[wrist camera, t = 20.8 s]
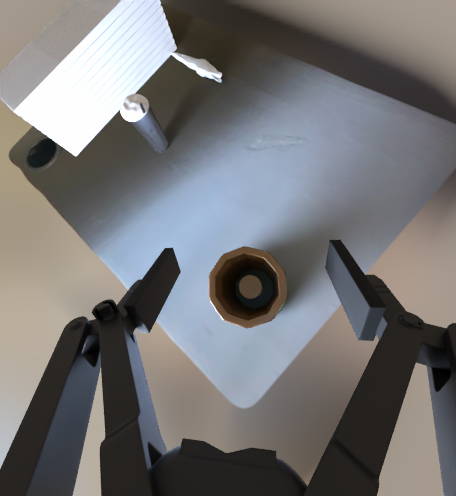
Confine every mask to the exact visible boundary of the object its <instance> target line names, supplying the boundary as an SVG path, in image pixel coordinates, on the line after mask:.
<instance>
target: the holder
mask: <svg viewBox="0 0 456 496" xmlns="http://www.w3.org/2000/svg"><path fill="white" fill-rule="evenodd" d="M286 289H287V283H286ZM236 296H237V297H238V299H239V300H240V301H241V303H242V304H243V305H245V306H248V307H251V308H254V309H256V308H259V307H262V306H264V305H267V303H268V302H269V300H270V299H271V297H272V296H273V283H272V281H271V279H270V278H269V277H268V276H267V275H266V273H265V272H262V271H258V270H254V269H252V270H249V271H247V272H244V273H242V274H241V276H240V277H239V279H238V280H237V282H236ZM286 298H287V297H286ZM284 304H285V302H284ZM284 304H283V305H282V307H281V308H280V310H281V309H282V308H283V306H284ZM280 310H279V312H280ZM279 312H278V313H279ZM278 313H277V314H278Z"/></svg>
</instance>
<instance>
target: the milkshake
mask: <svg viewBox="0 0 456 496" xmlns="http://www.w3.org/2000/svg"><path fill="white" fill-rule="evenodd" d="M121 115H122V117H123V118H124V119H125V120H126V121H127V122H128V123H129V124H130V125H131V126H132V127H133V128H134V129H135V130H136V131H137V132H138V133H139V134H140V135H141V137H142V138H143V139H144V140H145V141H146V142H147V143H148V144H149V145H150V146H151V147H152V149H153V150H154V151H156V152H158V153H159V152H164V151H165V150H166V149H167V148H168V145H169V142H168V139H167V137H166V135H165V134H164V132H163V130H162V128H161V126H160V124H159V122H158V120H157V119H156V117H155V114H154V112H153V110H152V108H151V106H150V104H149V102H148V100H147V99H146V98H145V97H144V96H142V95H139V94H132V95H129V96H127V97H126V98H125V99H124V100H123V102H122V106H121Z"/></svg>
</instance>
